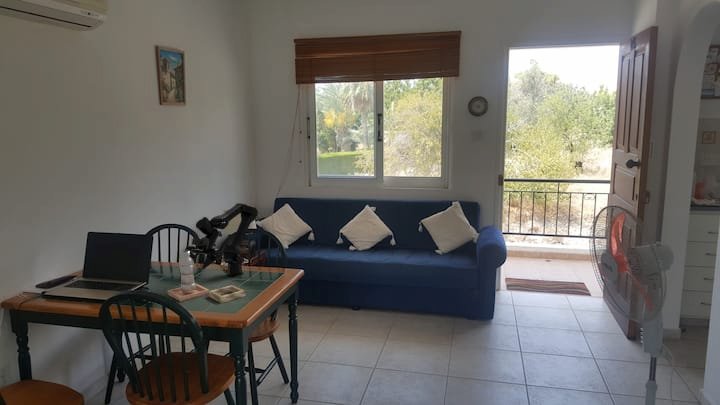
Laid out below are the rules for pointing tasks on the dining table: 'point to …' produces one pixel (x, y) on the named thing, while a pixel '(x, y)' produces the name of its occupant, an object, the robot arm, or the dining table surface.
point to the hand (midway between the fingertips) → (195, 267)
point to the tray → (183, 297)
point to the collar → (218, 297)
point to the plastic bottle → (187, 273)
